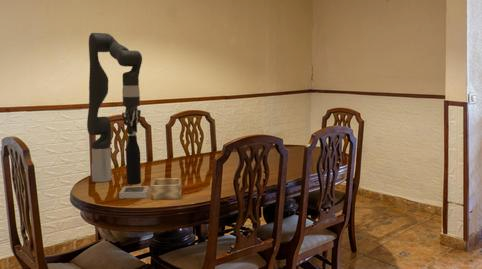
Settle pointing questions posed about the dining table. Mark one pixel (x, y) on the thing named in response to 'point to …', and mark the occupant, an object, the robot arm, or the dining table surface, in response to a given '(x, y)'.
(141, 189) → the grey square tray
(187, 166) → the dining table surface
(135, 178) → the wine bottle
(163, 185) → the crate
